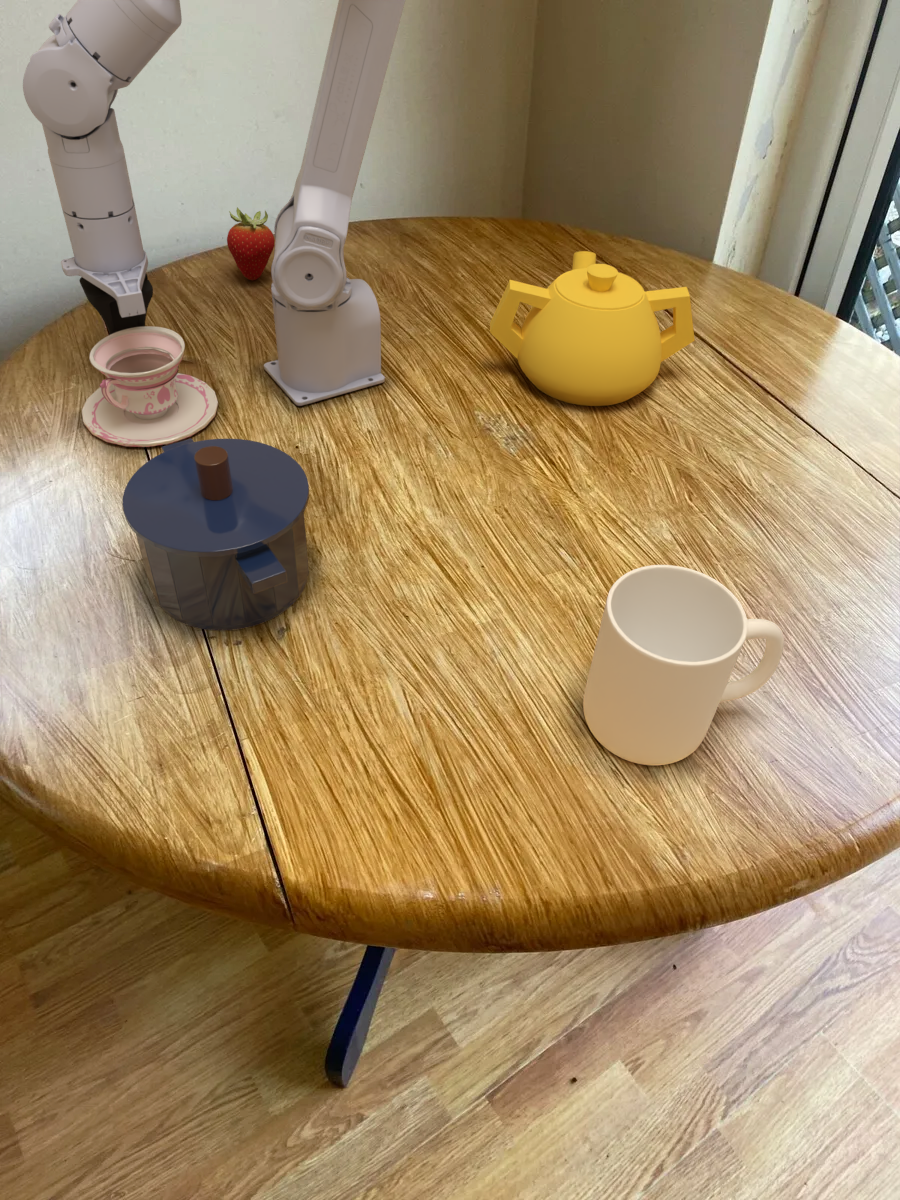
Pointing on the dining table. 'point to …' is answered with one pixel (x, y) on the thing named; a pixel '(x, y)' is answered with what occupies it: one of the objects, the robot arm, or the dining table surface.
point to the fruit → (250, 244)
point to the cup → (669, 662)
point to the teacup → (146, 390)
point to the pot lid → (215, 497)
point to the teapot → (592, 332)
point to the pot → (229, 580)
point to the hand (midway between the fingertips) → (131, 353)
